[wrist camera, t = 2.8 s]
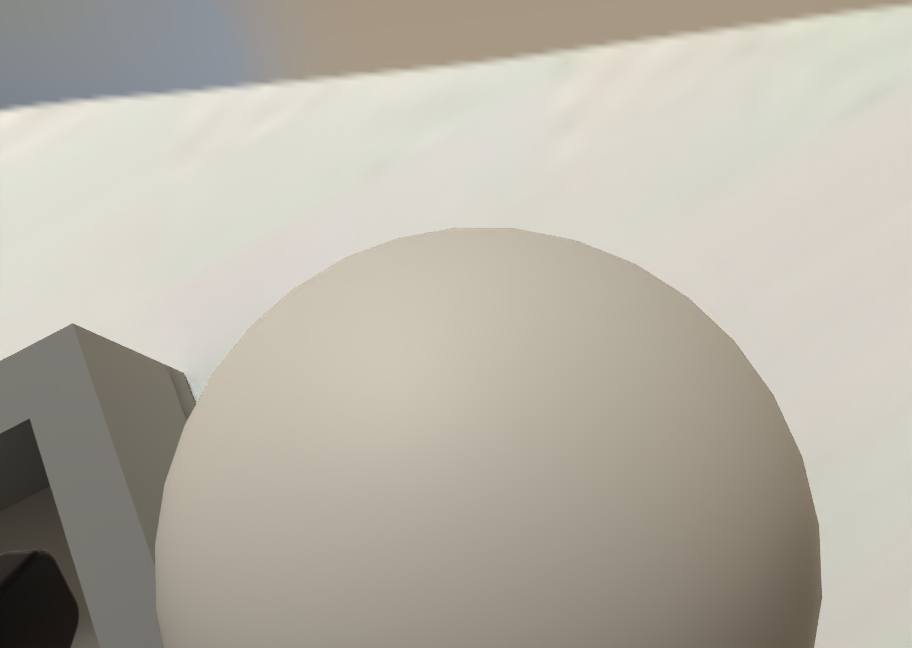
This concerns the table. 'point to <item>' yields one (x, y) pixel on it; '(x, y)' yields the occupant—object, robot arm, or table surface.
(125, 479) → the socket
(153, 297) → the table surface
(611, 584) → the lightbulb
